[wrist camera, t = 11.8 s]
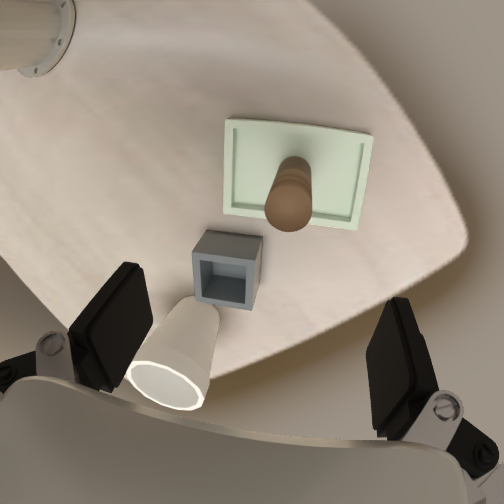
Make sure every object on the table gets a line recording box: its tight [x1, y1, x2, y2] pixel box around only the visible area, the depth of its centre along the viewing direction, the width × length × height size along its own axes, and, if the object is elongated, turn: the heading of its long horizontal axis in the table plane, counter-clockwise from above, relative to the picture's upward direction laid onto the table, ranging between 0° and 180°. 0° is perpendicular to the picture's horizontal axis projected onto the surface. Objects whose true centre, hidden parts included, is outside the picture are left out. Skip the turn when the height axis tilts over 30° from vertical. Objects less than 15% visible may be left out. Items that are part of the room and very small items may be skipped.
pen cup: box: [192, 230, 263, 311], centre depth 33 cm, size 6×6×5 cm
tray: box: [223, 118, 374, 231], centre depth 28 cm, size 14×10×2 cm
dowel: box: [264, 156, 312, 232], centre depth 24 cm, size 3×3×10 cm
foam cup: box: [127, 296, 220, 410], centre depth 35 cm, size 10×9×13 cm
